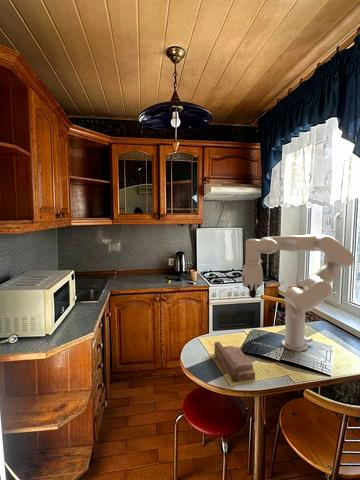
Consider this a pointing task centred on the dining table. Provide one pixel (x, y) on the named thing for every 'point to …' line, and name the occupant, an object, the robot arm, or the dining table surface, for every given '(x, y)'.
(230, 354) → the brick
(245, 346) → the dining table surface
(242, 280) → the robot arm
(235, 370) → the block
